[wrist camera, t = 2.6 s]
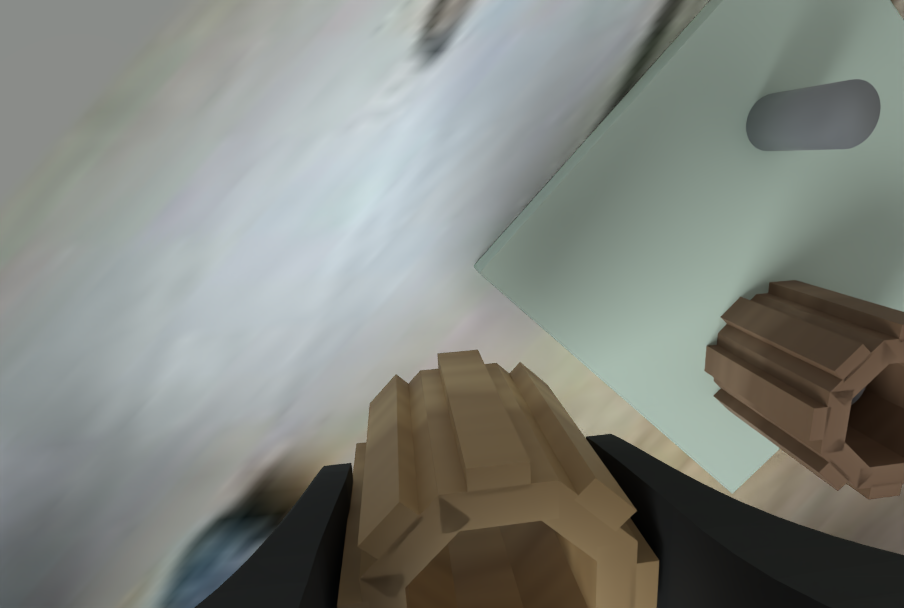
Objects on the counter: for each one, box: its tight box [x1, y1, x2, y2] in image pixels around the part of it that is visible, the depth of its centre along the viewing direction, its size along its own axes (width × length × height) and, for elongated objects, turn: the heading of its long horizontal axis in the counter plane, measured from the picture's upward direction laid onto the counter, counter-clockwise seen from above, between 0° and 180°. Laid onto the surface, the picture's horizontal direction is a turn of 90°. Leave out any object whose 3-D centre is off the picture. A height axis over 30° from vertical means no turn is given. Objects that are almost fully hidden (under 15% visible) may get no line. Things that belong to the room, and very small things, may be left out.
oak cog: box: [337, 350, 659, 608], centre depth 11 cm, size 5×5×5 cm
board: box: [474, 0, 904, 493], centre depth 17 cm, size 14×15×4 cm
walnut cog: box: [704, 280, 904, 499], centre depth 17 cm, size 5×5×5 cm
